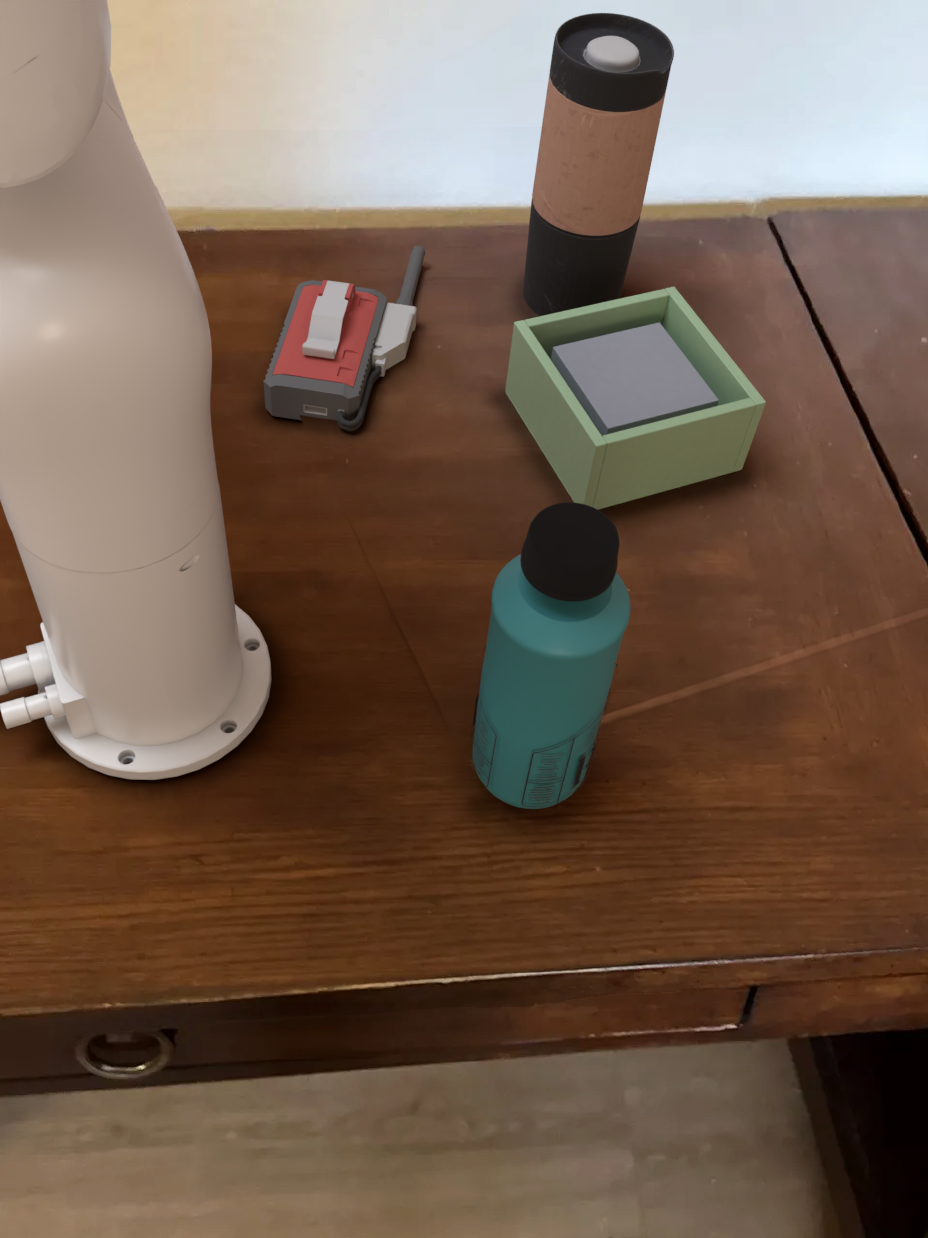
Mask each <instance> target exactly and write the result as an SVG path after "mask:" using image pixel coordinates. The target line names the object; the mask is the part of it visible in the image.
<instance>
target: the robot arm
mask: <svg viewBox="0 0 928 1238" xmlns="http://www.w3.org/2000/svg"><path fill="white" fill-rule="evenodd" d="M111 52H112V25H111V17H110V10H109V3H108V0H0V503H1V506H2V510H3V513H4V515H5V518H6V521H7V525H8V526H9V528H10V530H11V533H12V535H13V538H14V542H15V544H16V548H17V551H18V554H19V557H20V559H21V562H22V565H23V568H24V571H25V574H26V576H27V580H28V582H29V585H30V588H31V591H32V594H33V597H34V600H35V603H36V606H37V609H38V611H39V614H40V617H41V620H42V622H41V623H40V624H39V626H40V630H41V634H42V638H43V641H39V642H37V643H32V644H29V645H26V646H25V649H26V652H25V653H22V654H18V655H14V656H11V657H7V658H3V659H0V697H1V696H5V695H8V694H10V693H11V692H12V691H16V690H20V689H23V688H27V687H30V686H34V685H36V686H37V694H34V695H30V696H26V697H25V696H22V697H18V698H14V699H12V700H7V701H4V702H1V703H0V713H1V718H2V720H3V723H4V726H5V728H6V729H7V730H9V729H12V728H16V727H19V726H23V725H26V724H29V723H32V721H34V720H38V719H42V718H44V722H45V724H46V727H47V728H48V730H49V732H50V733H51V735H52V736H53V739H54V740H55V742H56V743H57V744H58V745H59V746H60V747H61V748H62V749H63V750H64V751H65V752H66V753H67V754H68V755H69V756H70V757H71V758H73V759H74V760H76V761H77V762H78V763H80V764H82V765H84V766H85V767H86V768H88V769H91V770H93V771H96V772H99V773H100V774H101V773H102V774H104V775H107V776H110V777H114V778H115V777H116V778H120V779H125V780H135V781H136V780H142V781H143V780H144V781H145V780H146V781H157V780H163V779H168V778H169V779H170V778H175V777H179V776H183V775H186V774H190V773H192V772H193V773H194V772H196V771H199V770H201V769H203V768H205V767H207V766H210V765H211V764H213V763H214V762H217V761H219V760H220V759H222V758H223V757H225V756H226V755H228V754H229V753H230V752H231V751H233V750H234V749H235V748H237V747H238V746H239V745H240V744H241V743H242V742H243V741H244V740H245V739H246V738H247V737H248V736H249V734H251V732H252V731H253V730H254V728H255V726H256V725H257V723H258V722H259V720H260V719H261V718H262V716H263V714H264V711H265V709H266V706H267V703H268V701H269V698H270V692H271V686H272V664H271V663H272V662H271V657H270V652H269V648H268V644H267V641H266V640H265V637H264V635H263V633H262V632H261V629H260V628H259V627H258V625H257V624H256V623H255V622H254V620H253V619H252V618H251V617H250V615H249V614H248V613H246V612H245V611H244V610H243V609H242V608H241V607H239V606H238V605H237V604H236V602H235V596H234V589H233V580H232V573H231V566H230V557H229V550H228V542H227V541H228V540H227V535H226V533H227V532H226V528H225V526H226V525H225V519H224V512H223V511H224V510H223V503H222V497H221V496H222V495H221V489H220V483H219V478H218V471H217V470H218V469H217V462H216V455H215V454H216V453H215V447H214V439H213V427H212V415H211V395H212V394H211V392H212V373H213V372H212V371H213V368H212V367H213V348H212V337H211V329H210V323H209V318H208V314H207V309H206V305H205V302H204V298H203V295H202V292H201V289H200V285H199V282H198V279H197V277H196V275H195V271H194V269H193V266H192V263H191V261H190V259H189V256H188V253H187V251H186V249H185V246H184V244H183V240H182V239H181V237H180V235H179V232H178V230H177V229H176V226H175V224H174V222H173V220H172V217H171V216H170V215H171V214H170V213H169V211H168V209H167V206H166V204H165V202H164V200H163V198H162V195H161V193H160V191H159V189H158V187H157V185H156V184H155V182H154V181H153V178H152V175H151V173H150V171H149V169H148V166H147V164H146V161H145V160H144V158H143V156H142V153H141V151H140V149H139V146H138V144H137V142H136V140H135V138H134V135H133V133H132V129H131V128H130V125H129V122H128V120H127V117H126V114H125V111H124V109H123V106H122V102H121V100H120V97H119V94H118V90H117V87H116V85H115V81H114V78H113V75H112V72H111V62H112V61H111V57H112V56H111V55H112V53H111Z"/></svg>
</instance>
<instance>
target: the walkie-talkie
mask: <svg viewBox="0 0 928 1238" xmlns="http://www.w3.org/2000/svg"><path fill="white" fill-rule="evenodd" d="M425 255H426V250H425V248H424V246H422V245H415V246H413V247H412V249H411V252H410V256H409V259H408V263H407V267H406V270H405V275H404V279H403V281H402V285H401V288H400V289H401V290H400V293H399V296H398V298H397V299H396V300H395V303H394V302H388V298H387V296H386V295H385V294H384V293H383V292H381V291H379V290H377V289H374V288H370V287H369V288H368V287H363V286H362V287H361V286H356V284H355V283H349V282H342V281H336V280H335V281H334V280H328V279H323V280H315V279H311V280H306V281H302V282H300V283H299V284H297V285H296V289H295V291H294V294H293V297H292V298H291V302H290V305H289V308H288V310H287V314H286V316H285V318H284V322H283V327H282V328H281V332H280V334H279V337H278V339H277V340H278V341H277V342H276V347H274V352H273V353H272V358H271V359H270V363H269V364H268V368H267V370H266V374H265V375H264V379H263V381H262V382H263V394H264V408H265V409H266V410H267V412H268V413H269V414H270V415H271V416H272V417H277V418H284V419H291V420H296V421H302V418H301V417H302V416H303V417H311V418H317V419H324V420H330V421H331V420H332V421H337V425H338V426H339V427H340V429H341V430H345V431H347V432H353V431H355V430H358V429H359V428H360V427H361V425H362V424H363V422H364V418H365V415H366V411H367V407H368V403H369V400H370V398H371V397H370V396H371V393H372V390H373V386H374V384H375V382H376V381H377V380H379V378H380V377H385V375H386V370H389V369H390V368H392V367H393V366H395V365H398V363H400V362H402V361H404V360H405V359H406V357H407V353H408V350H409V346H410V341H411V338H412V335H413V332H415V331H416V326H417V318H418V317H417V316H418V308H417V307H416V306H414V297H415V294H416V291H417V287H418V283H419V278H420V275H421V270H422V267H423V263H424V260H425Z"/></svg>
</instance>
